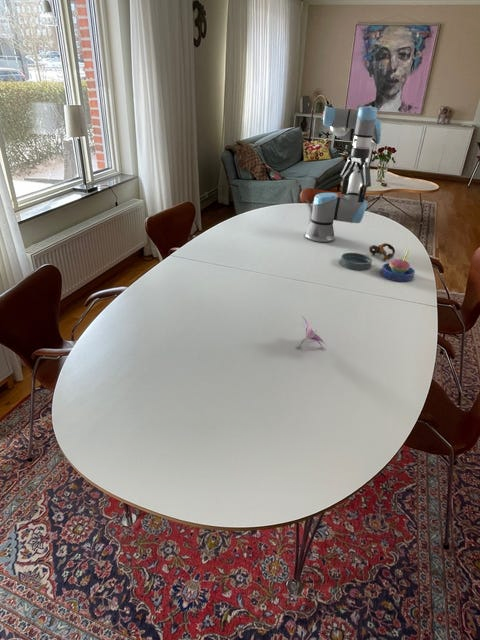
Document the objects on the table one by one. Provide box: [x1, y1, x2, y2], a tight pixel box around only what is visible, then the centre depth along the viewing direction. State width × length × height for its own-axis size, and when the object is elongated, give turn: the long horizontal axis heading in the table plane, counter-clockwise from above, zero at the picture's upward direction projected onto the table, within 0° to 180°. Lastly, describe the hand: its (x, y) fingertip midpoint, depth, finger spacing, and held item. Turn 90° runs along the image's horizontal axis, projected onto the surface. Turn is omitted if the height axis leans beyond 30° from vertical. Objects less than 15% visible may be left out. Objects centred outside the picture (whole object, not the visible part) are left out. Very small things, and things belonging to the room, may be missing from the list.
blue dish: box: [380, 262, 416, 282], centre depth 191 cm, size 14×14×3 cm
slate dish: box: [340, 252, 373, 271], centre depth 200 cm, size 14×14×3 cm
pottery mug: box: [368, 242, 396, 262], centre depth 208 cm, size 12×10×8 cm
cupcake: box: [389, 249, 411, 275], centre depth 189 cm, size 9×8×12 cm
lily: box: [297, 314, 327, 349], centre depth 136 cm, size 12×12×10 cm
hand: (351, 198), depth 193 cm, fingers open, 13 cm apart
